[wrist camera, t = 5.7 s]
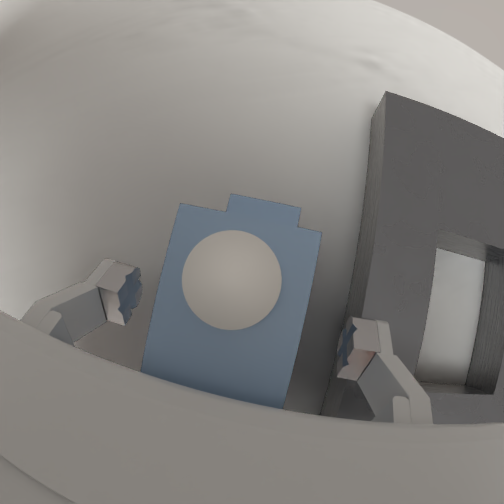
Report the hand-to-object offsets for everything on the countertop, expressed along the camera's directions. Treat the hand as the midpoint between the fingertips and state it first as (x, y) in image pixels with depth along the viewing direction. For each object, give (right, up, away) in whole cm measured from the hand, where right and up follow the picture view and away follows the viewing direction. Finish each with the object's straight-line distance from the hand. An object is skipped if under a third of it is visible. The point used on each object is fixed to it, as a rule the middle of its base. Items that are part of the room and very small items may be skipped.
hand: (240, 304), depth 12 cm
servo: (0, -1, +4) cm, 4 cm away
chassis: (+11, -2, +4) cm, 12 cm away
